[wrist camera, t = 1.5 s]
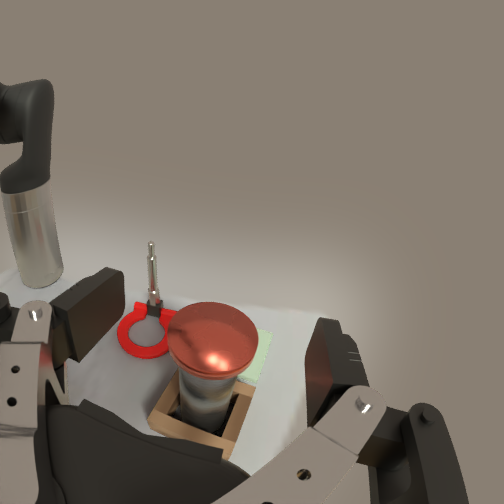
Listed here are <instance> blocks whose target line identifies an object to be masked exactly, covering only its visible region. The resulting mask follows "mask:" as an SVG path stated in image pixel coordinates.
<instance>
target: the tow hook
mask: <svg viewBox="0 0 504 504" xmlns="http://www.w3.org/2000/svg"><path fill="white" fill-rule="evenodd" d="M148 253H149V255H148V256H147V264H148V277H149V288H148V293H149V300H148V302H147V304H144V303H140V302H135V305H134V311H133V312H131V313H129V314H128V315H127V316H125V317H124V318H123V319H122V320H121V322H120V324H119V326H118V330H117V336H118V340H119V343H120V345H121V346H122V348H123V349H124V350H125V351H126V352H127V353H129V354H130V355H132V356H134V357H138V358H142V359H152V358H156V357H159V356H161V355H163V354H165V353H166V352H168V351H169V349H168V337H167V330H168V325H169V322H170V320H171V319H172V317H173V316H174V315H175V314H176V313H177V311H174V310H169V309H165V308H163V300H160V297H159V289H158V286H157V265H156V256H155V254H154V242H152V241H150V242H148ZM147 314H148V315H152V316H156V317H160V318H159V323H160V324H161V325H162V326H163V327H164V329H165V336H164V338H163V340H162V341H161V342H160V343H158V344H157V345H155V346H151V347H141V346H138V345H136V344H134V343H133V342H132V341H131V340H130V339H129V337H128V331H129V328H130V327H131V326H132V324H134V323H135V322H137V321H139V320H143V319H145V317H146V315H147Z"/></svg>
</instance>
